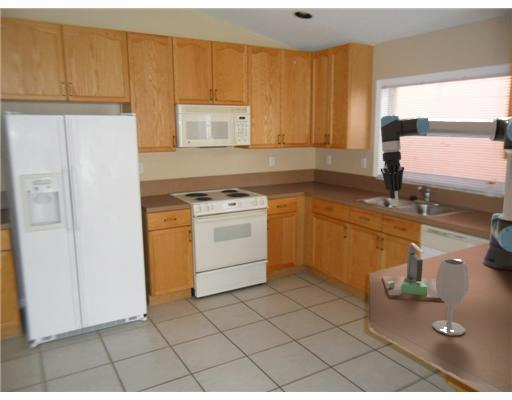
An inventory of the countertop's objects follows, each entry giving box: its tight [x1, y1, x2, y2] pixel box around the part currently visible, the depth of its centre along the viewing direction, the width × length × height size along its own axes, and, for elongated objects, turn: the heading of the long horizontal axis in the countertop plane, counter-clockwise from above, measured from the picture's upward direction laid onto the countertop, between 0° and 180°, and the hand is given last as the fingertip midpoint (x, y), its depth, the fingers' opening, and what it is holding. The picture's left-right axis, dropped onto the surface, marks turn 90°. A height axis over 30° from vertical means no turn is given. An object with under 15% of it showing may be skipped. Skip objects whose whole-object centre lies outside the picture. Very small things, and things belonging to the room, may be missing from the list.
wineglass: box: [431, 258, 470, 337], centre depth 120 cm, size 9×9×21 cm
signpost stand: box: [403, 242, 425, 283], centre depth 152 cm, size 14×4×15 cm, turn 175°
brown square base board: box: [382, 275, 443, 302], centre depth 153 cm, size 19×20×1 cm
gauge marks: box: [385, 281, 428, 295], centre depth 149 cm, size 14×5×3 cm, turn 61°
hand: (395, 205), depth 178 cm, fingers closed
